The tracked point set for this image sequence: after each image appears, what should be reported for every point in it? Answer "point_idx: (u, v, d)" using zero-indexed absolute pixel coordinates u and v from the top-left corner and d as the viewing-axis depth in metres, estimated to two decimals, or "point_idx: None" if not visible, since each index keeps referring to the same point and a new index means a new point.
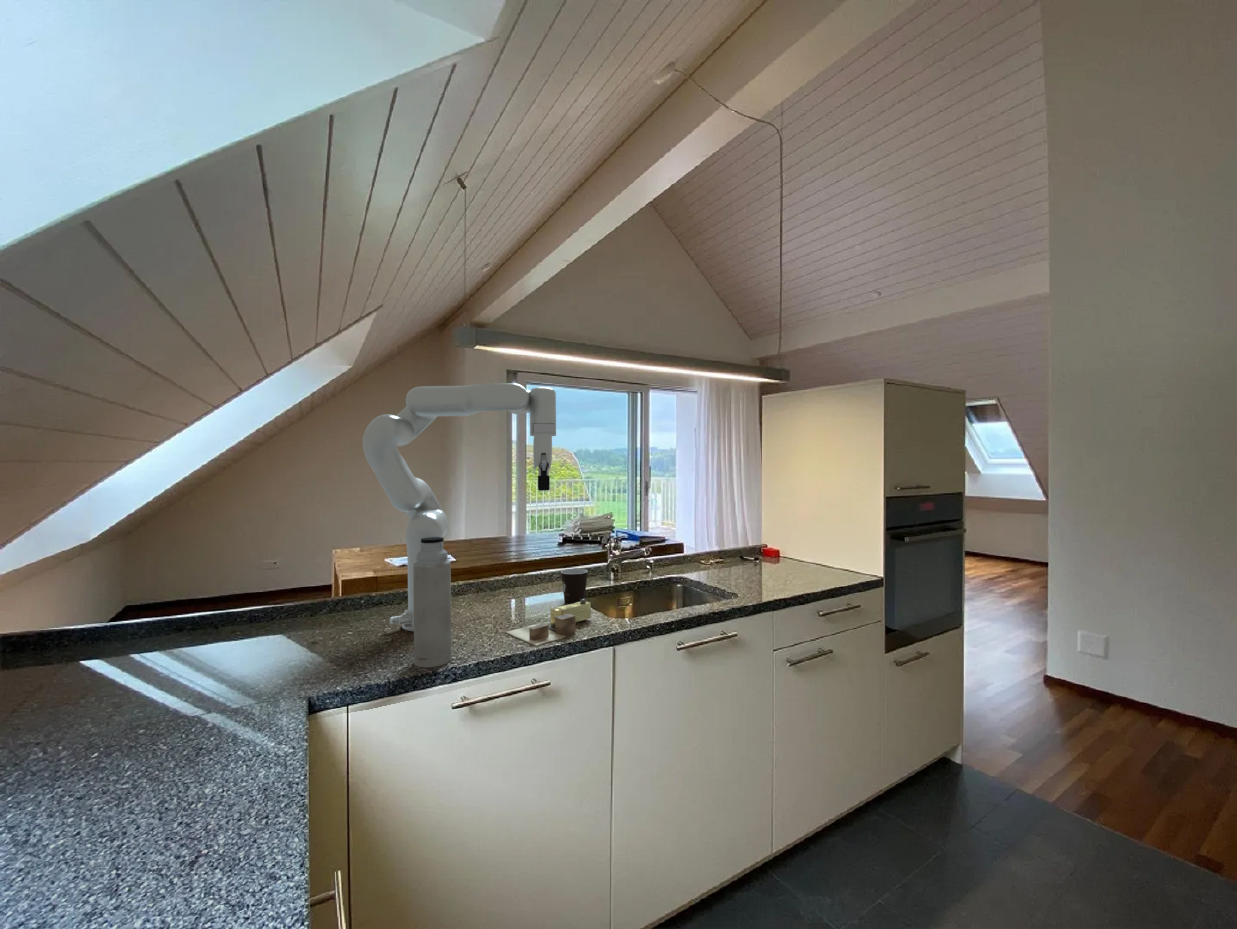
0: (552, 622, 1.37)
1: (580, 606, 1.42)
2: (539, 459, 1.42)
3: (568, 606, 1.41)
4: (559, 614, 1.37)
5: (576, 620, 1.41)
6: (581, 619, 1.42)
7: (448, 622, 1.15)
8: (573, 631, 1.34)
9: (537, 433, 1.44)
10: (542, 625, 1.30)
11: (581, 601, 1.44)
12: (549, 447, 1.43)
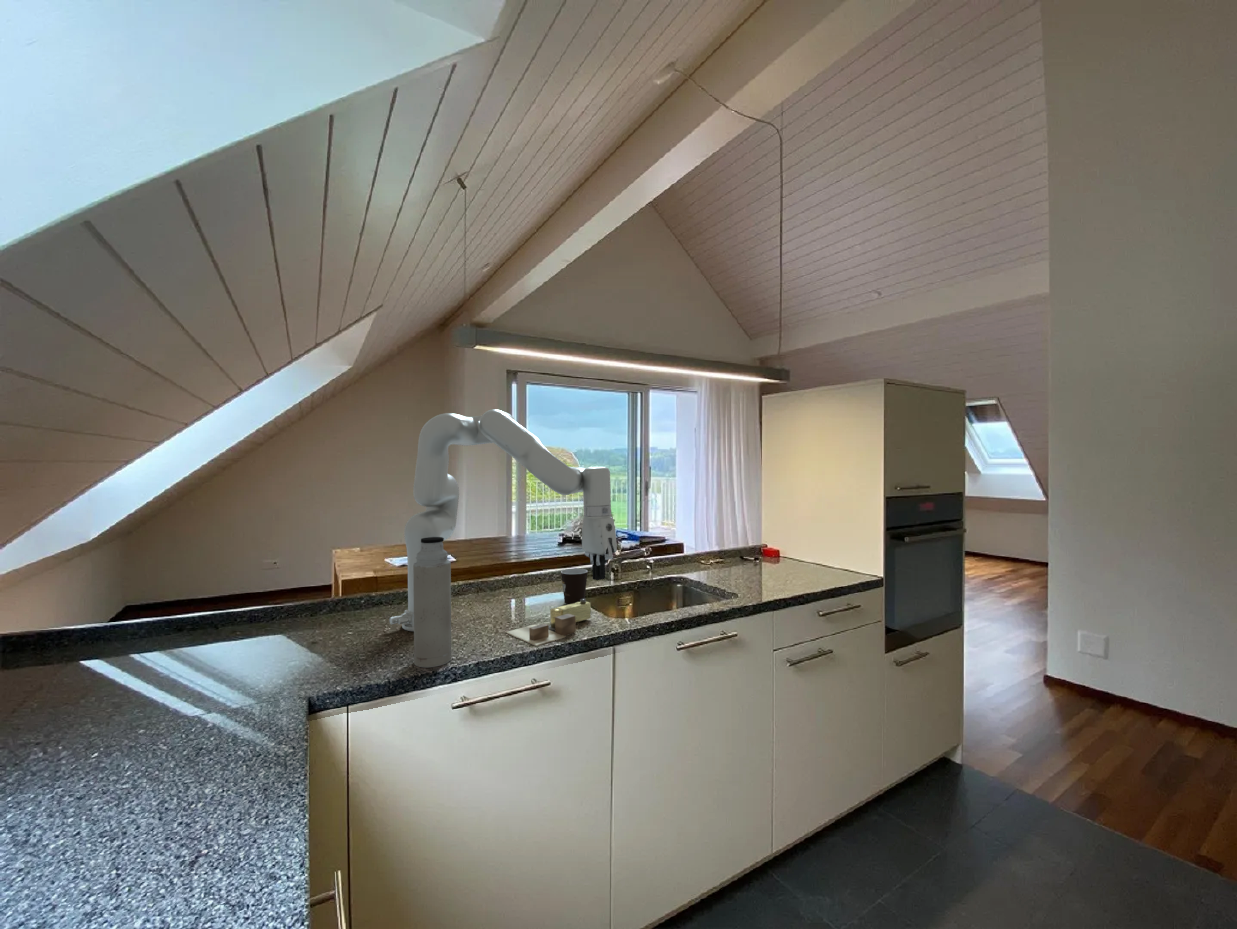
0: (552, 622, 1.37)
1: (580, 606, 1.42)
2: None
3: (568, 606, 1.41)
4: (559, 614, 1.37)
5: (576, 620, 1.41)
6: (581, 619, 1.42)
7: (448, 622, 1.15)
8: (573, 631, 1.34)
9: None
10: (542, 625, 1.30)
11: (581, 601, 1.44)
12: None
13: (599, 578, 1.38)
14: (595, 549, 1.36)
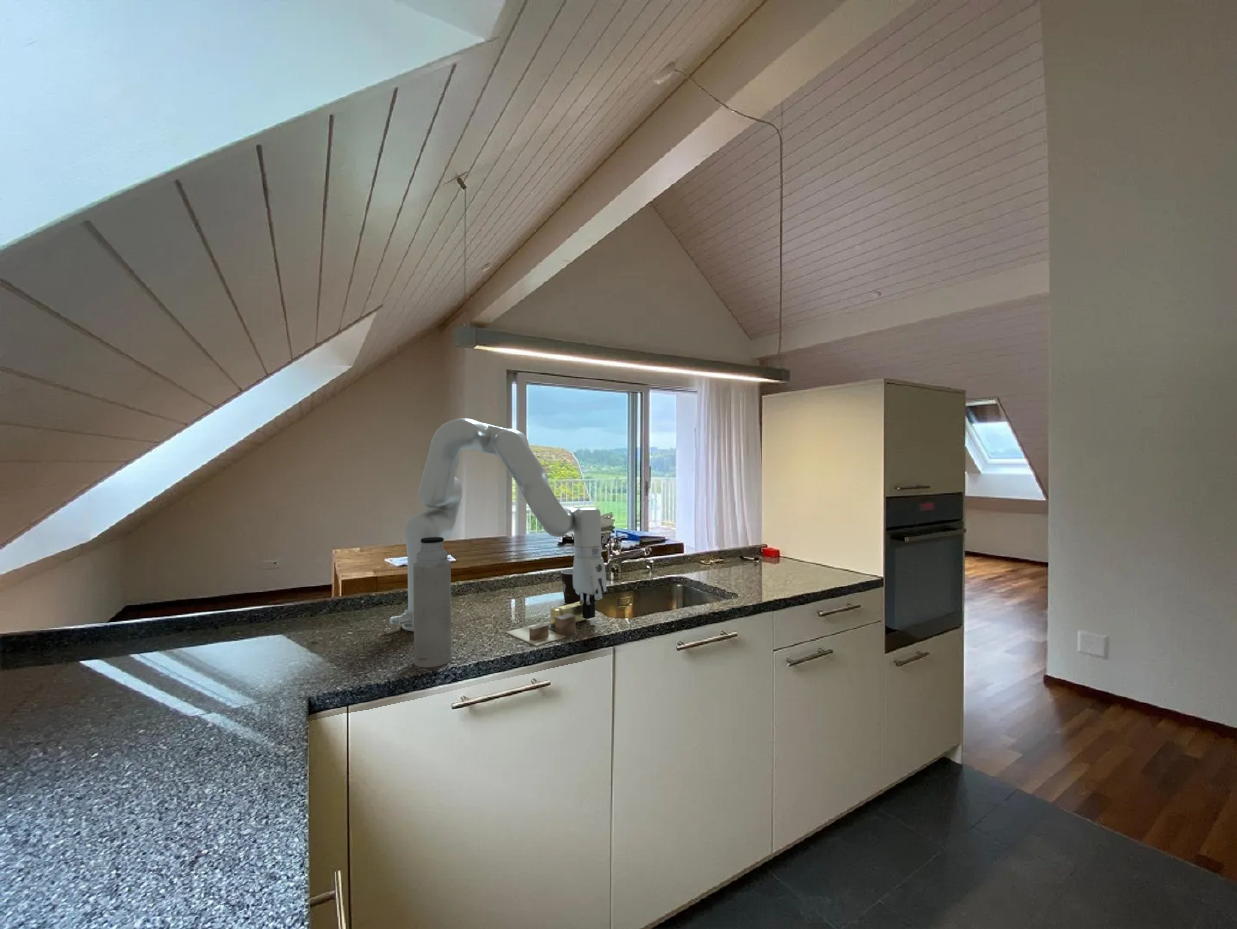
0: (552, 622, 1.37)
1: (580, 606, 1.42)
2: None
3: (568, 606, 1.41)
4: (559, 614, 1.37)
5: (576, 620, 1.41)
6: (581, 619, 1.43)
7: (448, 622, 1.15)
8: (573, 631, 1.34)
9: None
10: (542, 625, 1.30)
11: None
12: None
13: (589, 617, 1.41)
14: (585, 589, 1.39)
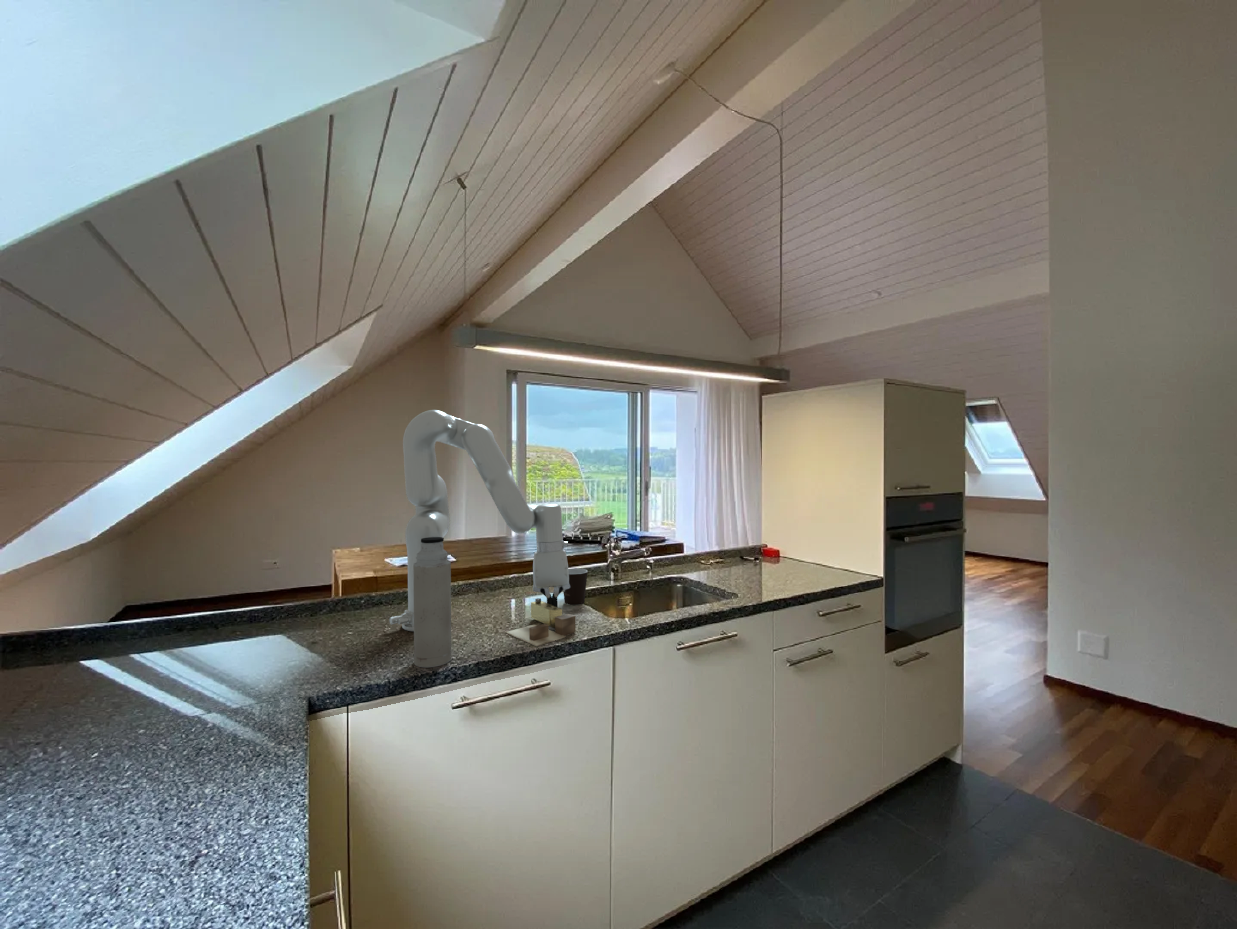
0: None
1: None
2: None
3: (548, 606, 1.42)
4: None
5: None
6: None
7: (448, 622, 1.15)
8: (573, 631, 1.34)
9: None
10: (542, 625, 1.30)
11: (540, 601, 1.45)
12: (534, 566, 1.44)
13: None
14: (556, 582, 1.45)
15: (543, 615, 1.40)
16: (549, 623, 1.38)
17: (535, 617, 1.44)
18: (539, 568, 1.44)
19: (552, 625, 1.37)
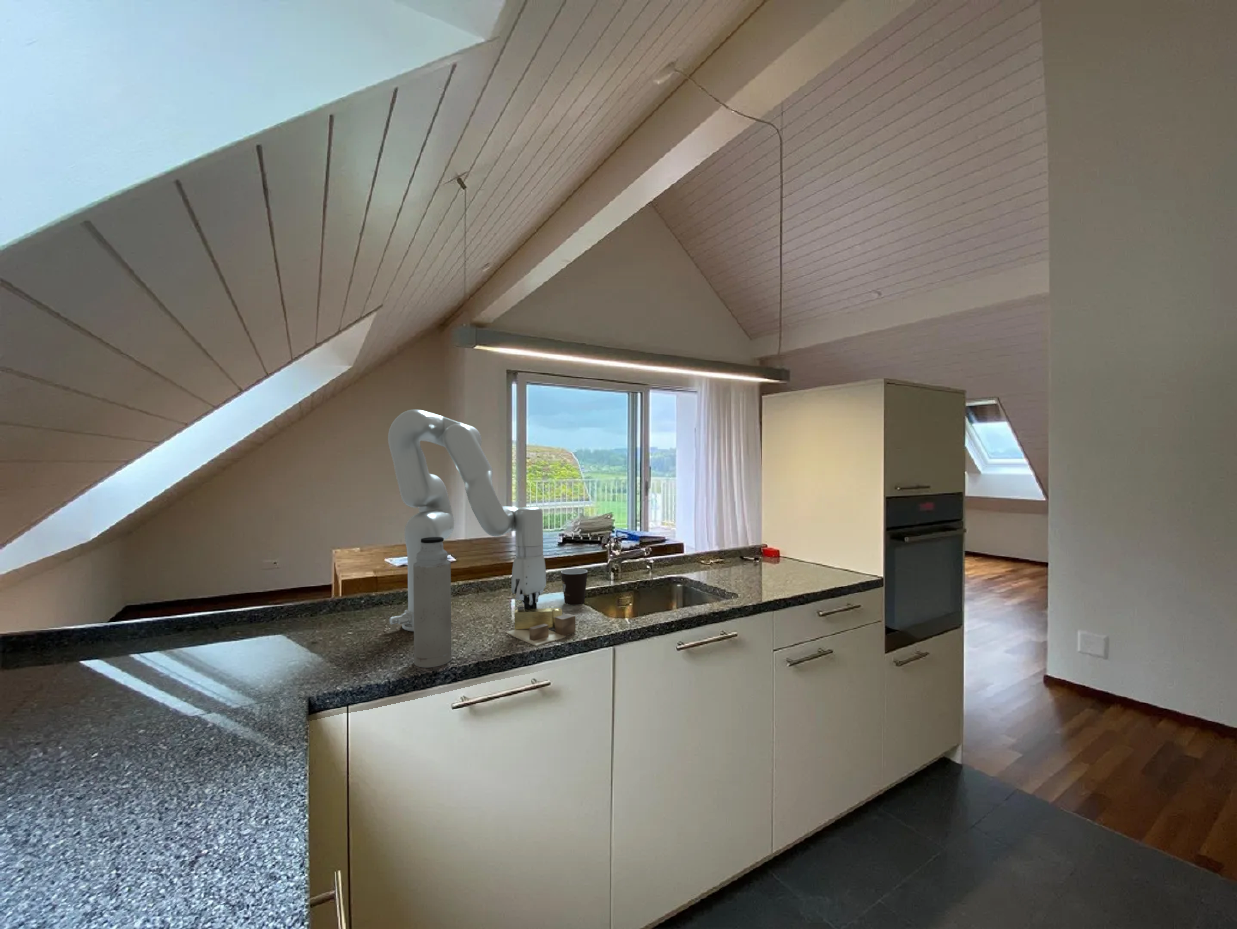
0: None
1: None
2: (514, 585, 1.37)
3: (540, 610, 1.38)
4: None
5: None
6: None
7: (448, 622, 1.15)
8: (573, 631, 1.34)
9: (517, 556, 1.39)
10: (542, 625, 1.30)
11: (523, 608, 1.37)
12: (523, 573, 1.36)
13: None
14: (539, 586, 1.41)
15: (541, 619, 1.36)
16: (552, 625, 1.37)
17: (524, 626, 1.36)
18: (528, 574, 1.37)
19: None
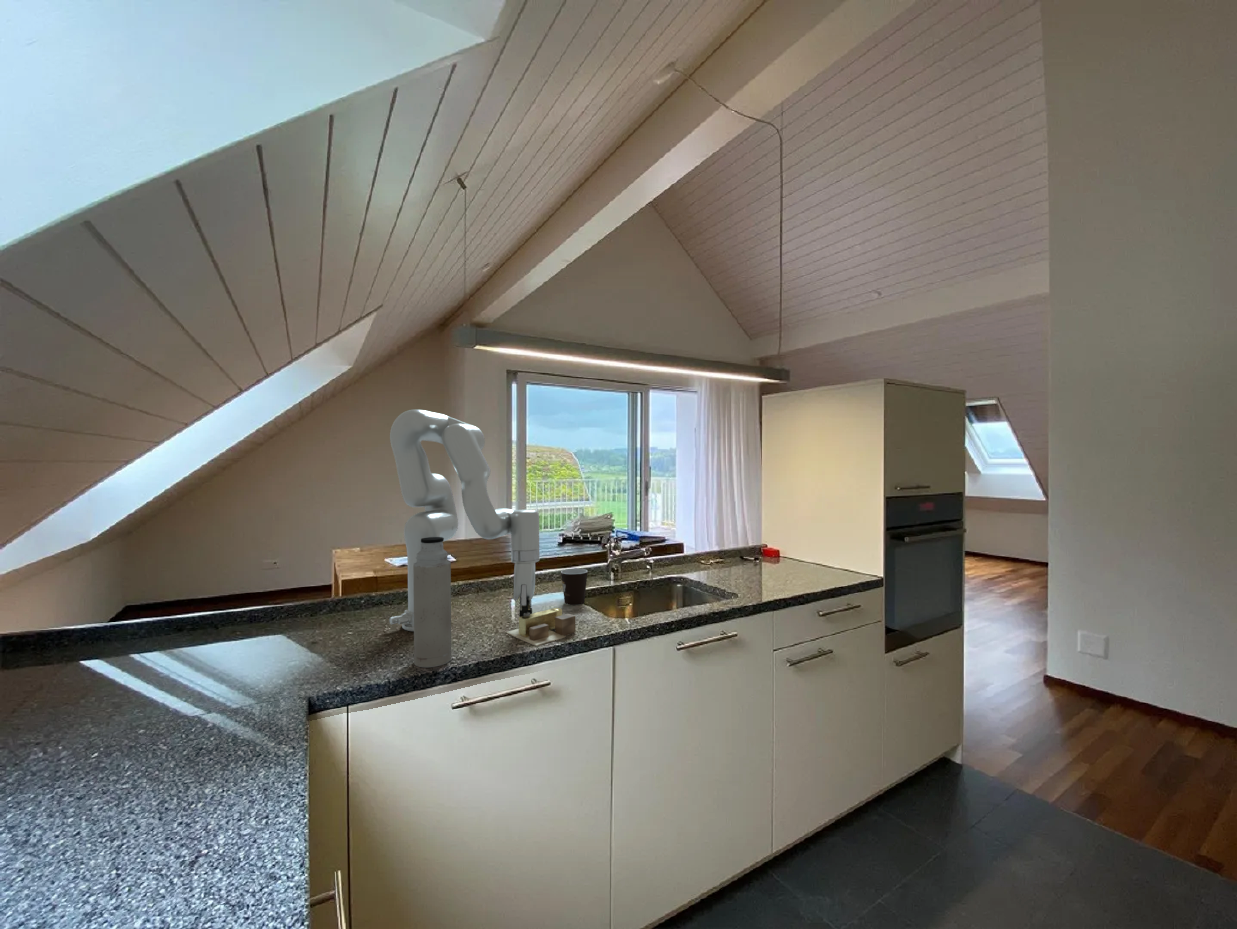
0: None
1: None
2: (519, 591, 1.32)
3: (543, 612, 1.35)
4: None
5: None
6: None
7: (448, 622, 1.15)
8: (573, 631, 1.34)
9: (517, 562, 1.33)
10: (542, 625, 1.30)
11: None
12: (530, 578, 1.32)
13: None
14: None
15: (547, 621, 1.34)
16: None
17: None
18: (532, 578, 1.34)
19: None
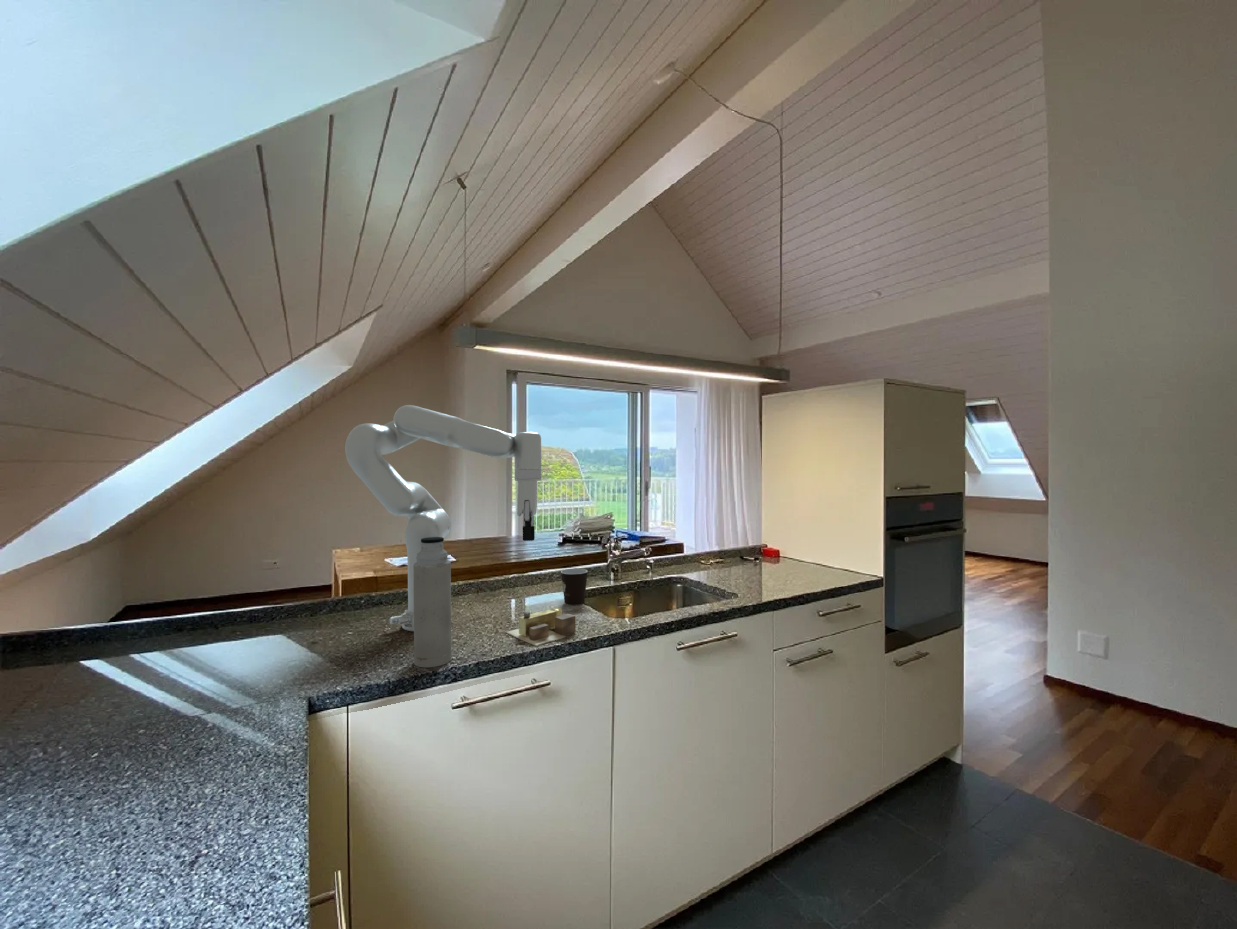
0: None
1: None
2: (522, 506, 1.39)
3: (543, 612, 1.35)
4: None
5: None
6: None
7: (448, 622, 1.15)
8: (573, 631, 1.34)
9: (521, 479, 1.41)
10: (542, 625, 1.30)
11: None
12: (533, 494, 1.40)
13: None
14: (536, 510, 1.46)
15: (547, 621, 1.34)
16: None
17: None
18: (535, 495, 1.41)
19: None
